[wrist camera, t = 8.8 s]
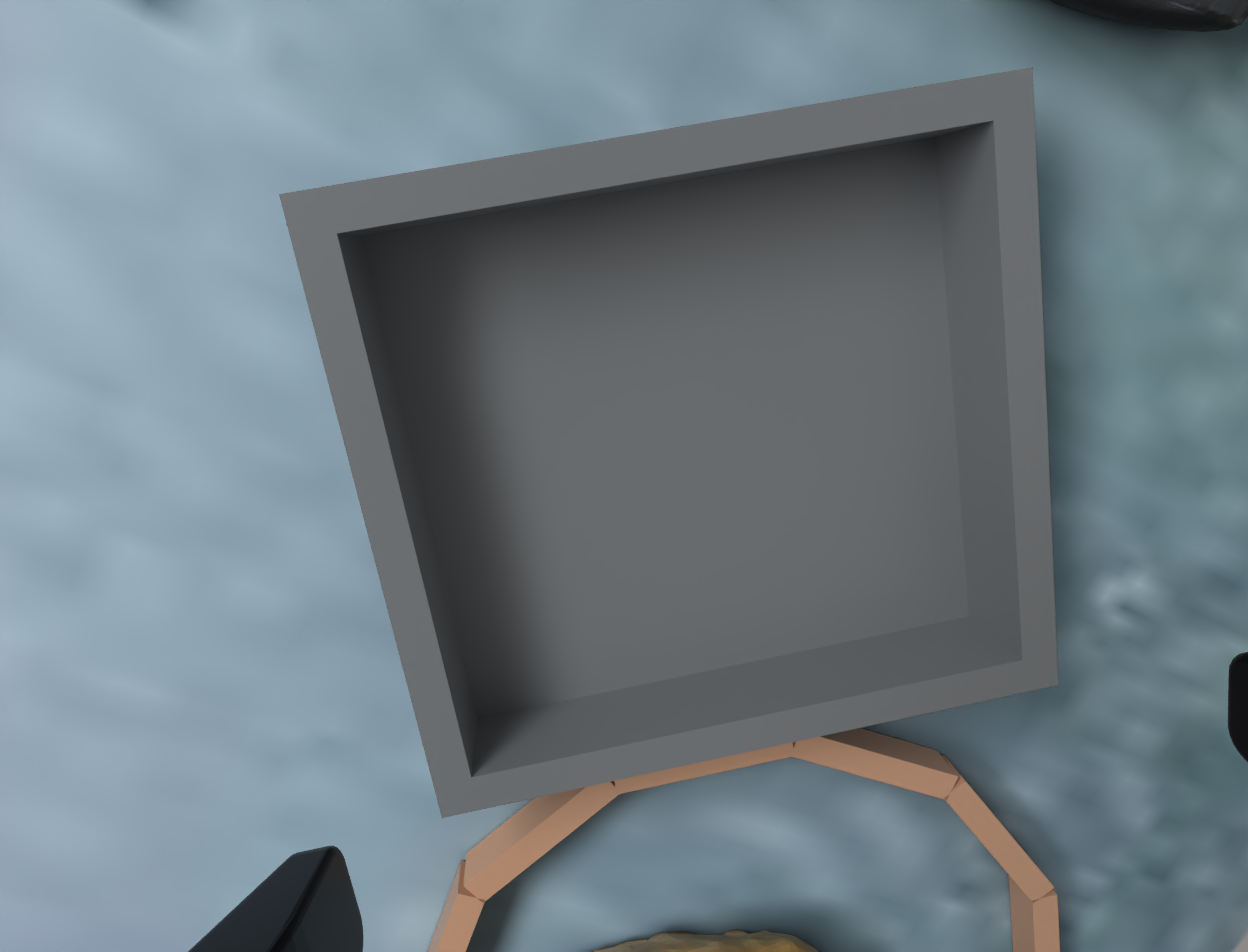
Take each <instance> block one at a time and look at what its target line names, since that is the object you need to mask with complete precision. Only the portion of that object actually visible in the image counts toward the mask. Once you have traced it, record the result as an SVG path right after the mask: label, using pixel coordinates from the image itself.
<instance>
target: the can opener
mask: <svg viewBox="0 0 1248 952" xmlns="http://www.w3.org/2000/svg"><path fill="white" fill-rule="evenodd" d="M1051 1H1053V2H1056V3H1058V4H1061V5H1064V6H1067V7H1069V8H1072V9H1074V10H1077V11H1080V12H1083V13H1087V14H1090V15H1093V16H1097V17H1100V18H1103V19H1107V20H1112V21H1117V22H1122V23H1128V24H1134V25H1140V26H1146V27H1152V28H1162V29H1170V30H1184V31H1200V32H1206V31H1220V30H1227V29H1231V28H1234V27H1236V26H1238V25H1240V24H1241V23H1242V22H1243V21H1244V20H1245V19H1246V18H1247V16H1248V0H1051Z"/></svg>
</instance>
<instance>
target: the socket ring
mask: <svg viewBox="0 0 1248 952" xmlns="http://www.w3.org/2000/svg"><path fill="white" fill-rule="evenodd" d="M789 757H795V758H798V759H802V760H806V761H809V762H813V763H816V764H820V765H823V766H827V767H830V768H834V769H838V770H841V771H845V772H848V773H852V774H855V775H859V776H863V777H866V778H870V779H873V780H877V781H880V782H884V783H887V784H891V785H895V786H898V787H902V788H905V789H909V790H912V791H916V792H920V793H923V794H927V795H930V796H934V797H937V798H941V799H944V800H946V802H947V803H948V804H949V805H950V806H951V807H952V809H953V810H954V811H955V812H956V813H957V814H958V816H959V817H960V818H961V819H962V820H963V821H964V823H965V824H966V825H967V826H968V827H969V828H970V830H971V831H972V832H973V833H974V834H975V836H976V837H977V838H978V839H979V840H980V841H981V843H982V844H983V845H984V846H985V847H986V848H987V850H988V851H989V852H990V853H991V854H992V855H993V857H994V858H995V859H996V860H997V861H998V862H999V864H1000V865H1001V866H1002V867H1003V868H1004V870H1005V871H1006V872H1007V873H1008V875H1009V891H1010V907H1011V923H1012V939H1013V952H1060V941H1059V918H1058V896H1057V893H1056V892H1055V891H1054V890H1053V888H1055V887H1054V886H1053V885H1052V884H1051V882H1050V881H1049V880H1048V879H1047V878H1046V877H1045V875H1044V874H1043V873H1042V872H1041V871H1040V869H1039V868H1038V867H1037V866H1036V865H1035V863H1034V862H1033V861H1032V860H1031V859H1030V857H1029V856H1028V855H1027V854H1026V853H1025V851H1024V850H1023V849H1022V848H1021V847H1020V845H1019V844H1018V843H1017V842H1016V841H1015V839H1014V838H1013V837H1012V836H1011V835H1010V833H1009V832H1008V831H1007V830H1006V829H1005V827H1004V826H1003V825H1002V824H1001V823H1000V821H999V820H998V819H997V818H996V817H995V815H994V814H993V813H992V812H991V811H990V809H989V808H988V807H987V806H986V805H985V803H984V802H983V801H982V800H981V799H980V798H979V796H978V795H977V794H976V793H975V792H974V790H973V789H972V788H971V787H970V786H969V784H968V783H967V782H966V781H965V780H964V778H963V777H962V776H961V775H960V774H959V772H958V771H957V770H956V769H955V768H954V766H953V765H952V764H951V763H950V762H949V760H948V759H947V758H946V757H945V756H944V755H943V756H941V755H940V754H939V752H938V751H937V750H934V749H931V748H927V747H924V746H920V745H917V744H914V743H910V742H907V741H903V740H900V739H896V738H893V737H890V736H886V735H883V734H879V733H876V732H873V731H869V730H866V729H862V728H857V729H852V730H848V731H843V732H838V733H834V734H829V735H824V736H820V737H815V738H810V739H806V740H801V741H797V742H792V743H787V744H783V745H778V746H773V747H769V748H764V749H759V750H755V751H750V752H746V753H741V754H736V755H732V756H727V757H722V758H718V759H713V760H708V761H704V762H699V763H694V764H690V765H685V766H681V767H676V768H671V769H667V770H662V771H657V772H653V773H648V774H643V775H639V776H634V777H629V778H625V779H620V780H616V781H611V782H606V783H602V784H597V785H592V786H588V787H583V788H578V789H574V790H569V791H564V792H560V793H555V794H551V795H546V796H541V797H537V798H534V799H533V800H532V801H530V802H529V803H528V804H527V805H525V806H524V807H523V808H522V809H520V810H519V811H518V812H517V813H515V814H514V815H513V816H512V817H510V818H509V819H508V820H507V821H506V822H504V823H503V824H502V825H501V826H499V827H498V828H497V829H496V830H494V831H493V832H492V833H491V834H489V835H488V836H487V837H486V838H484V839H483V840H482V841H481V842H479V843H478V844H477V845H476V846H475V847H473V848H472V849H471V850H470V851H468V852H467V853H466V861H462V860H461V862H460V865H459V867H458V870H457V873H456V875H455V878H454V881H453V883H452V886H451V889H450V892H449V894H448V897H447V900H446V902H445V905H444V908H443V910H442V913H441V916H440V918H439V921H438V924H437V927H436V929H435V932H434V935H433V937H432V940H431V943H430V945H429V948H428V951H427V952H466V950H467V947H468V944H469V942H470V939H471V936H472V934H473V931H474V929H475V926H476V923H477V921H478V918H479V915H480V913H481V910H482V908H483V905H484V902H485V901H486V900H488V899H489V898H490V897H491V896H493V895H494V894H495V893H496V892H498V891H499V890H500V889H501V888H503V887H504V886H505V885H506V884H508V883H509V882H510V881H511V880H513V879H514V878H515V877H516V876H518V875H519V874H520V873H521V872H523V871H524V870H525V869H526V868H528V867H529V866H530V865H531V864H533V863H534V862H535V861H536V860H538V859H539V858H540V857H541V856H543V855H544V854H545V853H546V852H548V851H549V850H550V849H551V848H553V847H554V846H555V845H556V844H558V843H559V842H560V841H561V840H563V839H564V838H565V837H566V836H568V835H569V834H570V833H571V832H573V831H574V830H575V829H576V828H578V827H579V826H580V825H581V824H583V823H584V822H585V821H586V820H588V819H589V818H590V817H591V816H593V815H594V814H595V813H596V812H598V811H599V810H600V809H601V808H603V807H604V806H605V805H606V804H608V803H609V802H610V801H611V800H613V799H614V798H615V797H616V796H618V795H619V794H623V793H627V792H632V791H636V790H641V789H646V788H650V787H655V786H660V785H664V784H669V783H673V782H678V781H683V780H687V779H692V778H696V777H701V776H706V775H710V774H715V773H720V772H724V771H729V770H733V769H738V768H743V767H747V766H752V765H757V764H761V763H766V762H770V761H775V760H780V759H784V758H789Z"/></svg>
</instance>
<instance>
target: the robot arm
mask: <svg viewBox="0 0 1248 952" xmlns="http://www.w3.org/2000/svg"><path fill="white" fill-rule="evenodd" d="M1228 729H1229V734H1230V737H1231V739H1232V742H1233V744H1234V746H1235V747H1236V749H1237V750H1238V752H1239V753H1240V754H1241V756H1242V757H1243V758H1244V759H1245V760H1246V761H1247V762H1248V652H1246V653H1241V654H1239V655H1237V656H1236V657H1235V658H1233V660H1232V662H1231V664H1230V666H1229V689H1228ZM188 952H363V925H362V919H361V915H360V911H359V908H358V904H357V901H356V897H355V894H354V890H353V887H352V883H351V880H350V876H349V873H348V869H347V866H346V862H345V859H344V856H343V855H342V853H341V851H340V850H339V849H338V848H337V847H335V846H327V847H322V848H317V849H313V850H308V851H303V852H298V853H295V854H293V855H292V856H290V857H289V858H288V859H287V860H286V861H285V862H284V863H283V864H282V865H280V866H279V867H278V868H277V869H276V870H275V871H274V872H273V873H272V874H271V875H270V876H269V877H268V878H267V879H265V880H264V881H263V882H262V883H261V884H260V885H259V886H258V887H257V888H256V889H255V890H254V891H253V892H252V893H250V894H249V895H248V896H247V897H246V898H245V899H244V900H243V901H242V902H241V903H240V904H239V905H238V906H237V907H235V908H234V909H233V910H232V911H231V912H230V913H229V914H228V915H227V916H226V917H225V918H224V919H223V920H222V921H220V922H219V923H218V924H217V925H216V926H215V927H214V928H213V929H212V930H211V931H210V932H209V933H208V934H207V935H206V936H204V937H203V938H202V939H201V940H200V941H199V942H198V943H197V944H196V945H195V946H194V947H193V948H192V949H191V950H189V951H188Z"/></svg>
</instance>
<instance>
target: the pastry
mask: <svg viewBox="0 0 1248 952" xmlns="http://www.w3.org/2000/svg"><path fill="white" fill-rule="evenodd" d="M592 952H820V951H818V950H817V949H815V948H814V947H812V946H811V945H809V944H807V943H806V942H804V941H803V940H801V939H799V938H797V937H795V936H793V935H789V934H781V933H772V932H769V931H767V930H765V929H763V930H762V931H761V932H756V933H750V934H749V933H745V932H744V931H740V930H729V931H727V932H726V933H725V934H721V935H694V934H691V933H688V932H685V931H678V932H664V933H657V934H655V935H653V936H652V937H651V938H649V939H648V940H644V939H641V940H636V941H628V942H624V943H620V944H618V945H615V946H612V947H609V948H604V949H599V950H595V951H592Z"/></svg>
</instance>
